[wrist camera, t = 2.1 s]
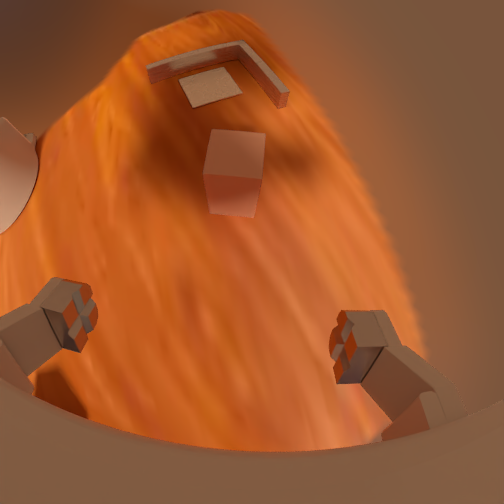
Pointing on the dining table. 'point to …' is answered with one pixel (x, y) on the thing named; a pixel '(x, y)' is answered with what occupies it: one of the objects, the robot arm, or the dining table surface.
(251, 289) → the dining table surface
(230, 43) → the corner wall
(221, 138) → the block
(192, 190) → the dining table surface
